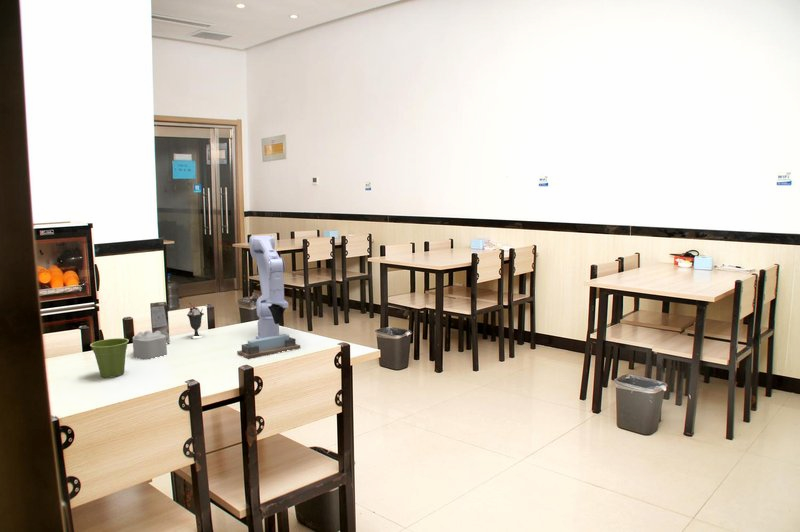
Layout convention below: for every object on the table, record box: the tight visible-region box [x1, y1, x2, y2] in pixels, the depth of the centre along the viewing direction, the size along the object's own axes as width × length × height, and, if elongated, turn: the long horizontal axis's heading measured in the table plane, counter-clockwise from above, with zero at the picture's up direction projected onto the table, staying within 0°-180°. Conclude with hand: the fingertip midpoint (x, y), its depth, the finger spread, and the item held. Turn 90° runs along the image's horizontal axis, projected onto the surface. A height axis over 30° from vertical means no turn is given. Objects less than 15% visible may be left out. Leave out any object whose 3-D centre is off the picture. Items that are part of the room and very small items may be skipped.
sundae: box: [186, 302, 205, 336], centre depth 255 cm, size 7×7×15 cm
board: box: [236, 336, 301, 360], centre depth 232 cm, size 9×22×4 cm, turn 130°
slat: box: [247, 333, 290, 351], centre depth 232 cm, size 3×16×4 cm, turn 130°
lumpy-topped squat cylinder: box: [132, 330, 168, 360], centre depth 230 cm, size 10×13×9 cm
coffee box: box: [149, 301, 171, 343], centre depth 248 cm, size 9×6×16 cm
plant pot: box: [89, 337, 130, 378], centre depth 205 cm, size 12×12×11 cm
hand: (277, 323), depth 238 cm, fingers closed
